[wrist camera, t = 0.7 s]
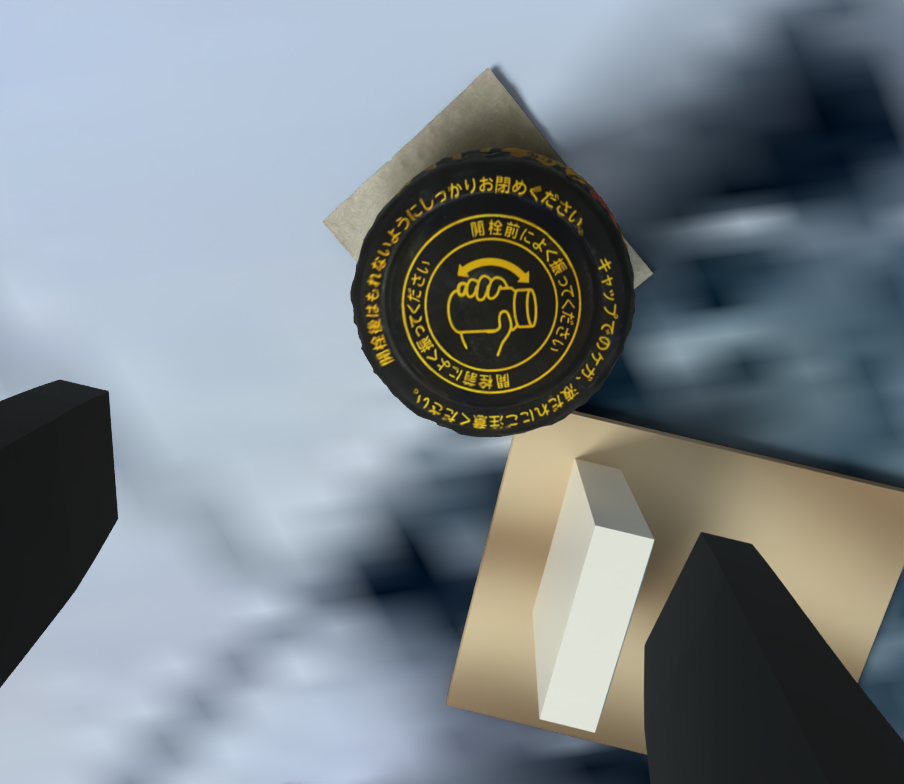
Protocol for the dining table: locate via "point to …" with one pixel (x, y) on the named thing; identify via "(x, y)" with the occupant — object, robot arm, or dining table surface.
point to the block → (588, 594)
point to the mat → (672, 555)
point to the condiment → (487, 272)
